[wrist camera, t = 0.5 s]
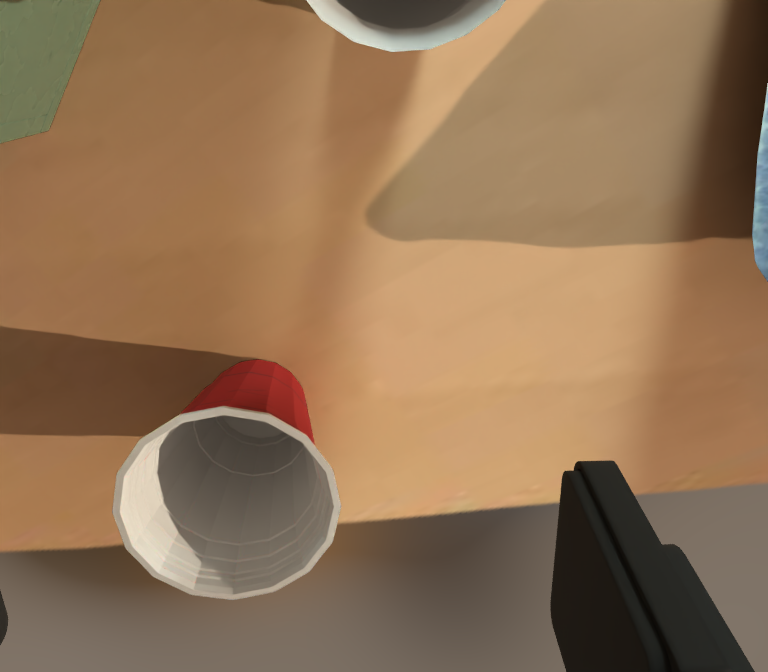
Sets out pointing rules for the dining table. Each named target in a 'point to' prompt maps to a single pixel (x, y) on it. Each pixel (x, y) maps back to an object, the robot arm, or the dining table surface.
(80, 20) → the mini fridge
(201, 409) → the plastic cup
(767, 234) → the blue slanted board
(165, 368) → the dining table surface
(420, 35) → the chalice
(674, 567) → the robot arm
